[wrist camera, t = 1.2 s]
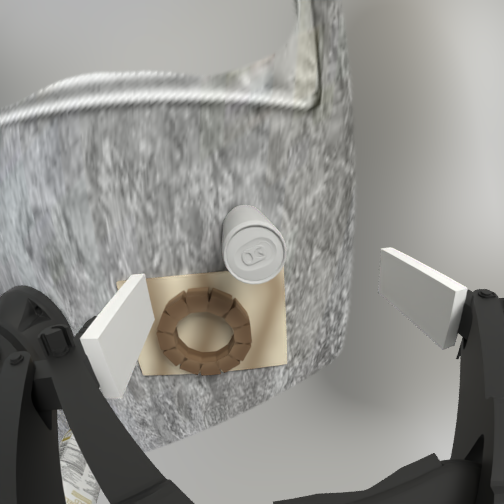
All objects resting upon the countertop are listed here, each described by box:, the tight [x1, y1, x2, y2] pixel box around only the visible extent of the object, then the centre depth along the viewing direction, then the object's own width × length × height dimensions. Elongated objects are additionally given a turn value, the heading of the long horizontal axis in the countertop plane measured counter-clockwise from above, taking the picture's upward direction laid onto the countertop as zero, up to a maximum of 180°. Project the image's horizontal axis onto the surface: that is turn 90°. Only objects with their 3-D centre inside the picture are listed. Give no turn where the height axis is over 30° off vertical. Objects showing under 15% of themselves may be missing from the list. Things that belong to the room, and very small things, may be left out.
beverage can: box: [222, 205, 286, 284], centre depth 27 cm, size 5×5×12 cm
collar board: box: [116, 268, 287, 376], centre depth 34 cm, size 20×14×3 cm
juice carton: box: [59, 430, 100, 504], centre depth 31 cm, size 8×9×19 cm
